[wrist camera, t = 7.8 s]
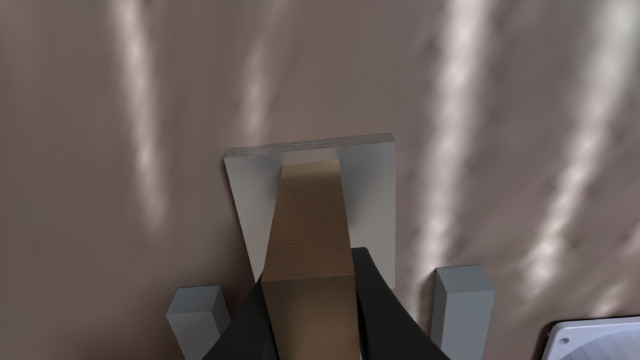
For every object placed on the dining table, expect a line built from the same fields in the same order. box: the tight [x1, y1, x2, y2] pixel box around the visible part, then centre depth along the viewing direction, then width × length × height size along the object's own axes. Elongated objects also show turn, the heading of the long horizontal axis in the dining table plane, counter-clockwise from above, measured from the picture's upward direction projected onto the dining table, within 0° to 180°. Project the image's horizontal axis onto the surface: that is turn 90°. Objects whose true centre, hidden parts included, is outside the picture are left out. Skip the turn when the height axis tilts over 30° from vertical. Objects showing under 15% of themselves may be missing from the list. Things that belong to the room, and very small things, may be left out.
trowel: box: [224, 133, 396, 360], centre depth 12 cm, size 6×7×6 cm
